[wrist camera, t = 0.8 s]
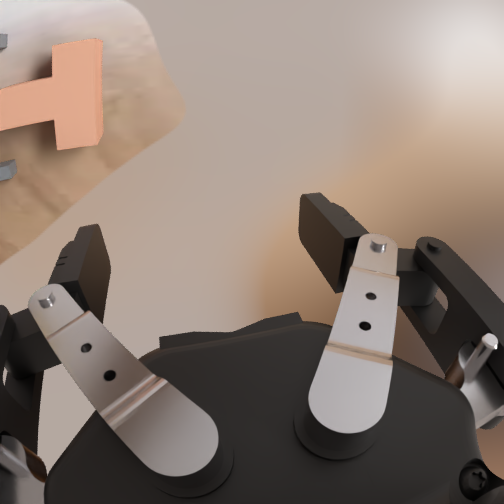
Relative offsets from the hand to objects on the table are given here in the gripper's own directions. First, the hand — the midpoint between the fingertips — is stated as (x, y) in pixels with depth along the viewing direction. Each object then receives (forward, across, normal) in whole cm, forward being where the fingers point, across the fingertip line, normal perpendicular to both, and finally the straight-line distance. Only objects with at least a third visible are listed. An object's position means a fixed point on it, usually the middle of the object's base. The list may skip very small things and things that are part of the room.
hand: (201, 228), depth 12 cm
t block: (+23, +13, -6) cm, 27 cm away
